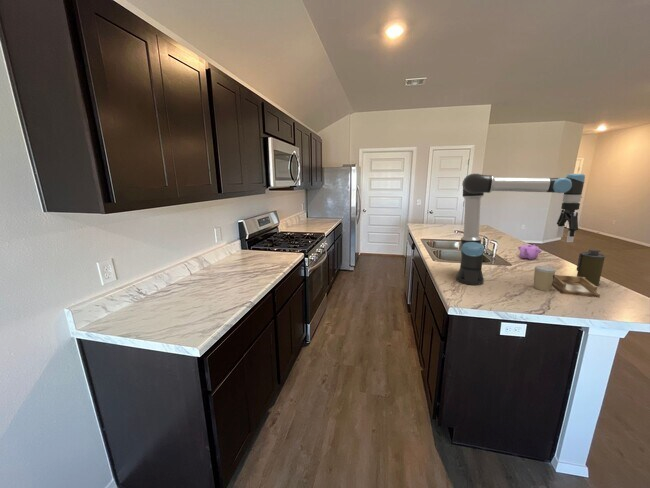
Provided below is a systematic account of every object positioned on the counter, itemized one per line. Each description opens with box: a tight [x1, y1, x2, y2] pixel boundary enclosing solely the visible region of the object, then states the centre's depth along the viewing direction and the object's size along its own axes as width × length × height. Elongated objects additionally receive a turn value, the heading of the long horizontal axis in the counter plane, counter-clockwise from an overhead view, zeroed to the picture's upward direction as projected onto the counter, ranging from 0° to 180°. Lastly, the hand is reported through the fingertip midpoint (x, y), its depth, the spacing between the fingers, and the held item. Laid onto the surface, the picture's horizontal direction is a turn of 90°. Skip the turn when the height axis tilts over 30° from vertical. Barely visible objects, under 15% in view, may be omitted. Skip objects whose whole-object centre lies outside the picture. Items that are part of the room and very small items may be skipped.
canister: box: [576, 248, 606, 287], centre depth 162 cm, size 11×10×20 cm
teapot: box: [517, 244, 542, 261], centre depth 213 cm, size 15×13×11 cm
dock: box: [552, 274, 601, 298], centre depth 154 cm, size 16×18×5 cm
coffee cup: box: [533, 265, 557, 292], centre depth 156 cm, size 9×9×12 cm
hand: (564, 239), depth 158 cm, fingers open, 13 cm apart
